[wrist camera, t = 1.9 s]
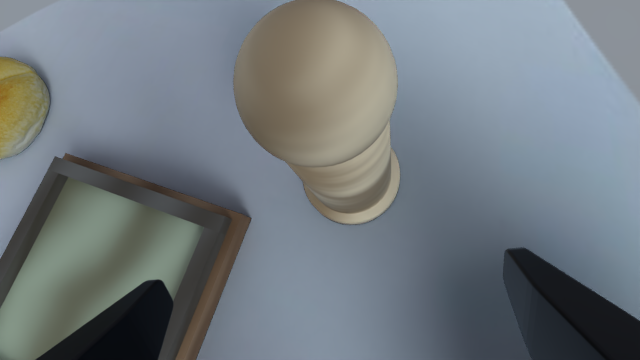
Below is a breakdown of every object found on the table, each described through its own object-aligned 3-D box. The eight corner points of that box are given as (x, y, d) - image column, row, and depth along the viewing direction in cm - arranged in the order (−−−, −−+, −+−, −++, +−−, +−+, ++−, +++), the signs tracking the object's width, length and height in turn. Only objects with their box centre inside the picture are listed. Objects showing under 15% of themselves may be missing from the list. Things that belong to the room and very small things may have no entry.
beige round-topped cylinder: (411, 147, 23) (433, -41, 10) (383, 237, 22) (365, 161, 8) (324, 126, 24) (241, -61, 11) (293, 208, 23) (161, 106, 10)
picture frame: (251, 218, 24) (235, 211, 21) (154, 465, 21) (123, 488, 18) (82, 159, 28) (53, 148, 25) (-20, 358, 25) (-64, 365, 22)
